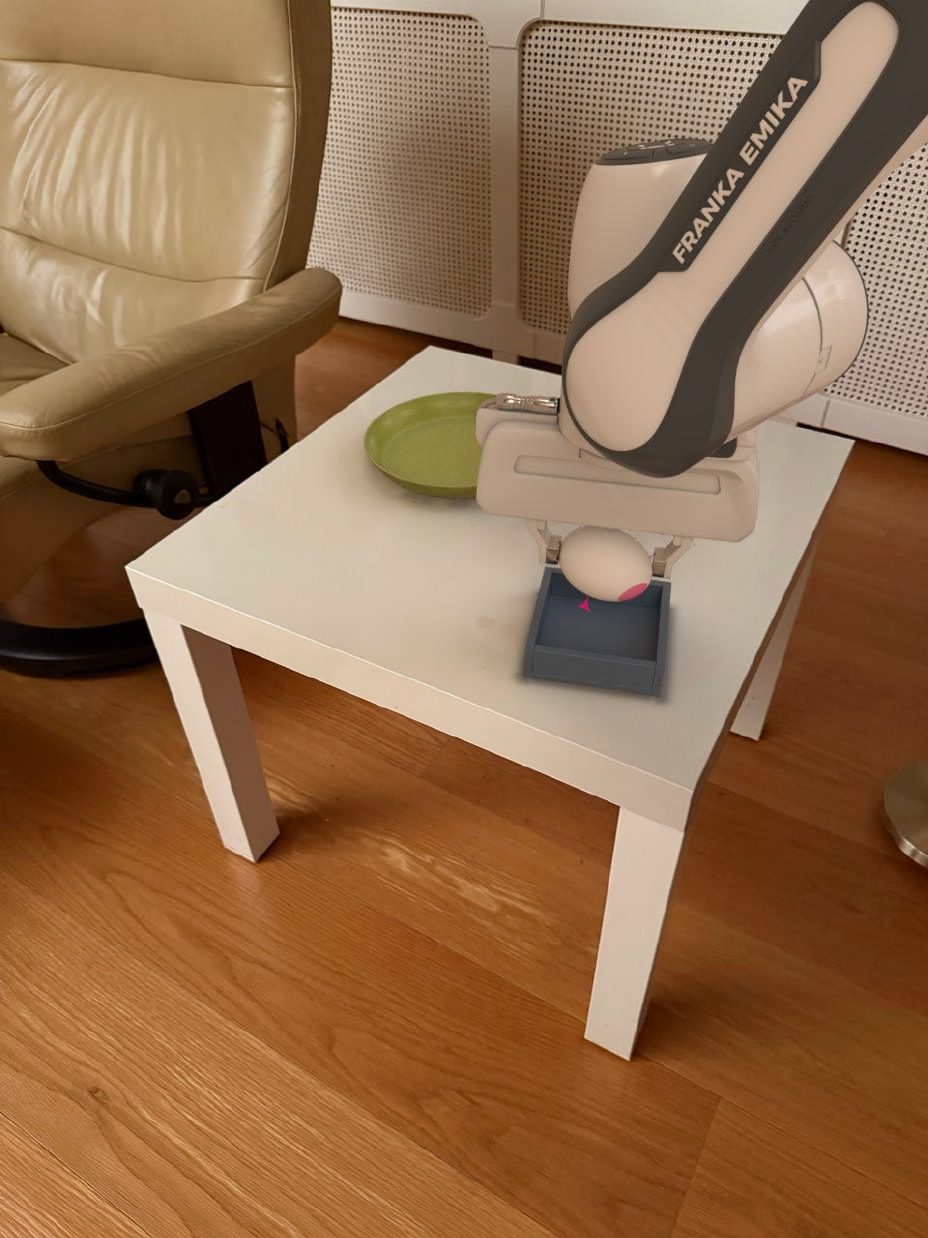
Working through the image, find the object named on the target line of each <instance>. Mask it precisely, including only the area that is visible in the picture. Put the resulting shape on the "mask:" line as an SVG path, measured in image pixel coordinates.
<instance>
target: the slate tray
mask: <svg viewBox="0 0 928 1238" xmlns="http://www.w3.org/2000/svg"><path fill="white" fill-rule="evenodd" d="M671 591H672V582H671V581H663V580H658V579H651V581H650V583H649V585H648V587H647V588H646V589H645V590H644V591H643V592H642V593H641V594H639V595H638V596H636V597H634V598H632V599H629V600H625V601H617V602H614V601H604V600H599V599H596V598H593V597H591V596H589V597H588V595H586V594H585V593H583V592H581V591H580V590H578V589H577V588H576V587H574V586H573V585H572V584H571V583H570V582H569V581H568V579H567V578H566V577H565V575H564V573H563V572H562V569H561V567H552V566H544V571H543V574H542V579H541V582H540V587H539V592H538V595H537V598H536V603H535V607H534V611H533V614H532V618H531V622H530V626H529V630H528V634H527V638H526V642H525V645H524V653H523V654H524V656H523V657H524V658H523V677H525V678H531V679H539V680H546V681H552V682H559V683H565V684H573V685H579V686H584V687H585V686H586V687H592V688H600V689H606V690H614V691H619V692H627V693H634V694H641V695H645V696H654V697H660V696H661V692H662V685H663V681H664V676H665V671H666V662H667V661H666V659H667V646H668V633H669V619H670V606H671V593H672V592H671ZM587 598H588V601H587V605H588V609H589V611H587V610H585V609H583V608H581V607H579V605H581V604H583V603H584V602H585V601H586V599H587Z"/></svg>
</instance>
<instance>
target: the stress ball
mask: <svg viewBox="0 0 928 1238" xmlns="http://www.w3.org/2000/svg"><path fill="white" fill-rule="evenodd" d="M652 557H654V554H651V555H650V554H649V553H648V551H647V550H646V548H645V547H644V546H643V545H642V543H641V542H639V540H637V538H635V537H634V536H632V535H631V534H629V533H628V532H626V531H625V530H622V529H613V528H604V527H596V526H587V525H579V527H578V528H576V529H574V530H572V531H570V532H569V533H568V534H567V535H565V537H563V540H561V545H560V549H559V562H558V565H559V568H561V569H562V572H563V573H564V575H565V577H566V578H567V579H568V581H569V582H570V583H571V584H572V585H573V586H574V587H576V588H577V589H578V590H580V591H581V592H583V593H585V594H586V595H588V597H589V596H591V597H593V598H596V599H599V600H604V601H614V602H617V601H625V600H629V599H632V598H634V597H636V596H638V595H639V594H641V593H642V592H643V591H644V590H645V589H646V588H647V587H648V585H649V583H650V581H651V580H652V578H653V576H652V570H653V569H652V559H651V558H652ZM587 601H588V598H587V599H586V601H585V602H584V603H583V604H581V605H579V607H581V608H583V609H585V610H587V611H589V609H588V605H587Z"/></svg>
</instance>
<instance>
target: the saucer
mask: <svg viewBox="0 0 928 1238" xmlns="http://www.w3.org/2000/svg"><path fill="white" fill-rule="evenodd" d="M496 395H497V393H496V394H495V393H489V392H480V391H479V392H477V391H449V392H441V393H434V394H428V395H424V396H419V397H415V398H412V399H411V398H410V399H409V400H406V401H403V402H401V403H398V404H396V405H394V406H391V407H390V408H389V409H386V410H385V411H384V412H382V413H381V414H379V415H378V416H377V417H376V418H375V419H373V421H371V423H370V424H369V425H368V426H367V428H366V431H365V433H364V435H363V448H364V452H365V454H366V455H367V457H368V459H369V460H370V461H371V463H372V464H373V465H374V466H375V467H376V468H377V469H378V470H379V471H380V472H381V473H382V474H383V475H384V476H386V477H387V478H388V479H389V480H391V481H393V482H394V483H396V484H398V485H399V486H401V487H403V488H405V489H407V490H409V491H412V492H415V493H417V494H421V495H425V496H428V497H429V496H430V497H435V498H441V499H471V498H472V499H473V498H476V491H477V479H478V472H479V466H480V460H481V456H482V452H483V448H482V447H481V445H480V444H479V443H478V441H477V438H476V435H475V414H476V411H477V409H478V407H479V406H480V404H482V403H483V402H484V401H486V400H488V399H491V398H496ZM491 405H493V406H495V404H491Z"/></svg>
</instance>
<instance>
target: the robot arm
mask: <svg viewBox="0 0 928 1238" xmlns="http://www.w3.org/2000/svg"><path fill="white" fill-rule="evenodd" d="M797 15H798V16H797V17H796V18H795V20H794V21H793V23H792V24H791V25H790V27H789V28H788V30H787V31H786V32H785V34H784V36H783V37H782V39H781V40H780V41H779V42H778V44H777V46H776V47H775V49H774V50H773V52H772V53H771V55H770V56H769V58H768V60H767V61H766V63H765V64H764V65H763V67H762V69H761V70H760V72H759V73H758V74H757V76H756V78H755V79H754V81H753V82H752V84H751V85H750V87H749V88H748V90H747V91H746V93H745V95H744V96H743V98H741V100H740V102H739V104H738V105H737V107H736V108H735V110H734V112H733V113H732V115H731V116H730V117H729V119H728V120H727V122H726V123H725V125H724V127H723V128H722V130H721V132H720V133H719V134H718V136H717V137H716V139H715V141H714V142H711V141H708V140H707V139H703V138H702V139H701V138H693V137H692V138H691V137H690V138H688V137H686V138H683V137H681V138H668V139H660V140H657V141H650V142H640V143H637V144H635V143H634V144H632V145H627V146H623V147H619V148H616V149H613V150H611V151H609V152H606V153H605V154H603V155H602V156H600V157H599V158H598V159H597V160H595V162H594V163H592V165H591V166H590V169H589V170H588V172H587V175H586V177H585V179H584V182H583V185H582V188H581V191H580V195H579V198H578V201H577V208H576V212H575V217H574V222H573V229H572V237H571V245H570V255H569V263H568V276H567V277H568V278H567V291H566V292H567V293H566V295H567V296H566V297H567V305H568V308H569V309H568V310H569V312H570V324H569V327H568V331H567V334H566V338H565V342H564V348H563V352H562V353H563V354H562V362H561V382H560V396H559V397H556V396H543V395H534V396H533V395H517V394H515V393H510V392H501V393H496V398H491V399H488V400H486V401H484V402H483V403H482V404H480V406H479V407H478V409H477V411H476V414H475V435H476V438H477V441H478V443H479V444H480V445H481V447H482V448H483V452H482V456H481V460H480V466H479V472H478V479H477V491H476V497H475V501H476V503H477V504H478V505H479V507H480V508H481V510H482V511H483V512H484V513H485V514H487V515H493V516H500V517H508V518H509V517H510V518H518V519H526V529H527V531H528V533H529V534H530V536H531V537H532V539H533V540H534V542H535V544H536V545H537V546H538V547H539V560H538V562H539V564H545V565H554V566H558V565H559V549H560V545H561V543H562V538H563V537H562V535H556V534H552V533H551V531H550V529H549V527H548V525H547V522H552V523H560V524H562V523H563V524H571V525H579V526H596V527H604V528H613V529H620V530H622V531H631V532H639V533H649V534H659V535H666V536H672V539H671V541H670V542H669V543H668V544H667V545H666V546H665V547H658V546H654V551H653V556H652V561H651V563H652V569H653V570H652V578H653V577H654V578H661V579H669V580H670V579H671V577H672V571H673V567H674V566H673V565H674V564H676V562H678V561H679V560H680V559H681V558H682V557H683V556H684V555H685V554H686V553H687V552H688V551H690V549H692V548H693V542H694V539H701V540H702V539H703V540H708V541H709V540H710V541H718V542H719V541H720V542H727V543H735V544H736V543H740V542H742V541H743V540H745V539H746V538H748V537H750V536H751V535H752V534H753V533H754V530H755V527H756V522H757V515H758V509H759V501H760V500H759V499H760V498H759V497H760V472H759V471H760V470H759V469H760V468H759V457H758V449H757V444H756V441H757V436H758V435H757V434H758V426H760V425H761V424H764V423H765V422H768V421H769V420H771V419H773V418H776V416H779V415H780V414H782V413H785V412H786V411H787V410H788V409H790V408H792V407H794V406H796V405H798V404H799V403H801V402H804V401H805V400H807V399H809V398H810V397H812V396H814V395H816V394H817V393H820V391H822V390H824V389H825V388H826V387H828V386H830V385H831V384H833V383H835V382H836V381H838V380H839V379H841V378H842V377H843V376H844V375H846V373H847V372H848V371H849V370H850V368H852V366H853V365H854V363H855V362H856V360H857V359H858V357H859V355H860V353H861V351H862V349H863V347H864V344H865V341H866V337H867V333H868V328H869V321H870V320H869V318H870V303H869V296H868V291H867V287H866V286H867V285H866V282H865V280H864V277H863V275H862V272H861V270H860V267H859V266H858V264H857V263H856V261H855V260H854V258H853V257H852V256H851V254H850V253H849V251H848V250H846V249H845V247H843V246H842V245H841V244H840V243H839V242H838V241H836V240H835V239H836V238H837V236H838V235H839V234H840V233H841V232H842V230H843V229H844V228H845V227H846V226H847V225H848V223H849V222H850V221H851V219H852V218H853V217H854V216H855V215H856V213H857V212H858V211H859V210H860V208H861V207H862V206H863V205H864V204H865V202H866V201H867V200H868V199H869V198H870V197H871V196H872V194H873V193H874V192H875V191H876V190H877V189H878V188H879V187H880V186H881V185H882V184H883V182H885V180H886V179H887V178H889V176H891V174H893V173H894V172H895V170H897V169H898V168H900V166H901V165H902V164H903V163H904V162H906V161H907V160H908V159H909V158H910V157H911V156H912V155H914V154H915V153H916V152H917V151H918V150H920V149H921V148H922V147H923V146H925V145H926V144H927V143H928V0H808V2H806V4H805V5H804V7H803V8H802V9H801V11H800V12H799V14H797ZM491 404H495V406H493V405H491Z"/></svg>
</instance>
